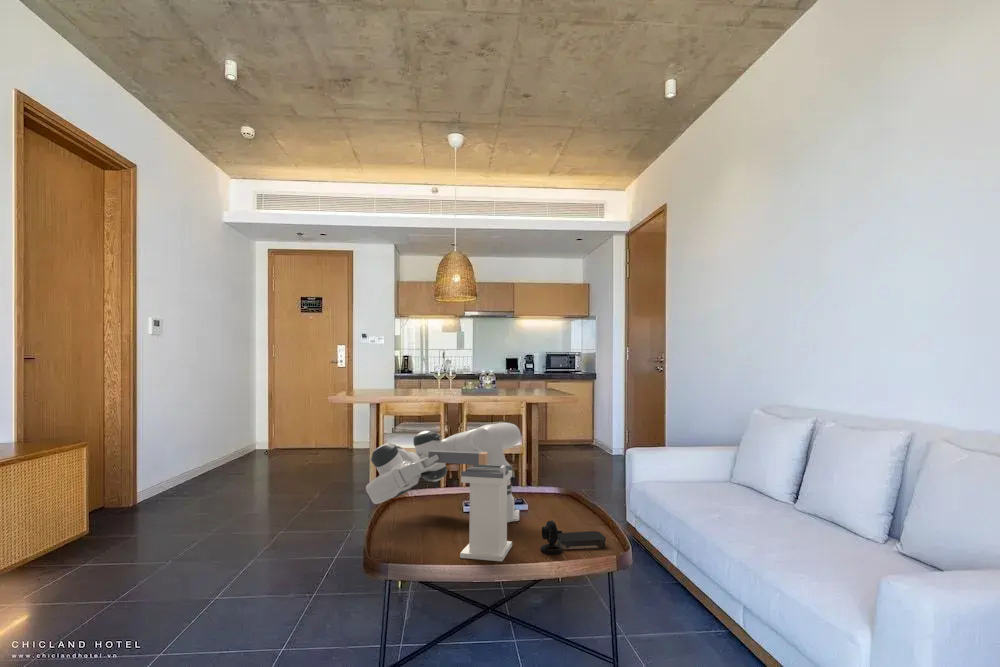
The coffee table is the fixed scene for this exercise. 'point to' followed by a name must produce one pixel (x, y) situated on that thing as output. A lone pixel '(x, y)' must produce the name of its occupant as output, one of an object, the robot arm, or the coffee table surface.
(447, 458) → the long grey square bar
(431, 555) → the coffee table surface
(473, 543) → the tester stand
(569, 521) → the coffee table surface
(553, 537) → the webcam
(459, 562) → the coffee table surface
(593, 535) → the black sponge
